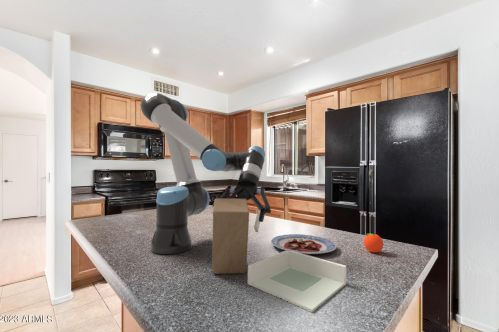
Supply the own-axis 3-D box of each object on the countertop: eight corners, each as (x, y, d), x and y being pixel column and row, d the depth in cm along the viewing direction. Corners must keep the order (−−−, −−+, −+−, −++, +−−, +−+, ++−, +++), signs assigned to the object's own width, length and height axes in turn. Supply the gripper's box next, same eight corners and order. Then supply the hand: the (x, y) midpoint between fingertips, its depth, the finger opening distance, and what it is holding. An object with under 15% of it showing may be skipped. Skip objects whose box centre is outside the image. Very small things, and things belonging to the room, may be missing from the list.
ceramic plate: (341, 262, 86) (341, 253, 86) (267, 255, 91) (267, 247, 91) (332, 241, 112) (332, 234, 112) (274, 237, 117) (274, 230, 117)
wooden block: (213, 254, 83) (214, 197, 78) (243, 253, 84) (246, 198, 79) (212, 274, 73) (212, 212, 68) (246, 273, 74) (249, 212, 69)
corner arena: (247, 284, 68) (248, 265, 68) (287, 265, 82) (287, 249, 82) (312, 312, 55) (312, 289, 55) (346, 284, 69) (346, 265, 69)
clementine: (358, 251, 98) (358, 233, 98) (364, 247, 103) (364, 230, 103) (380, 256, 92) (380, 237, 92) (385, 252, 97) (385, 233, 97)
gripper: (283, 186, 93) (275, 237, 78) (221, 184, 100) (203, 230, 85) (281, 172, 88) (272, 224, 73) (215, 171, 95) (195, 218, 80)
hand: (235, 228), depth 79 cm, fingers open, 13 cm apart
